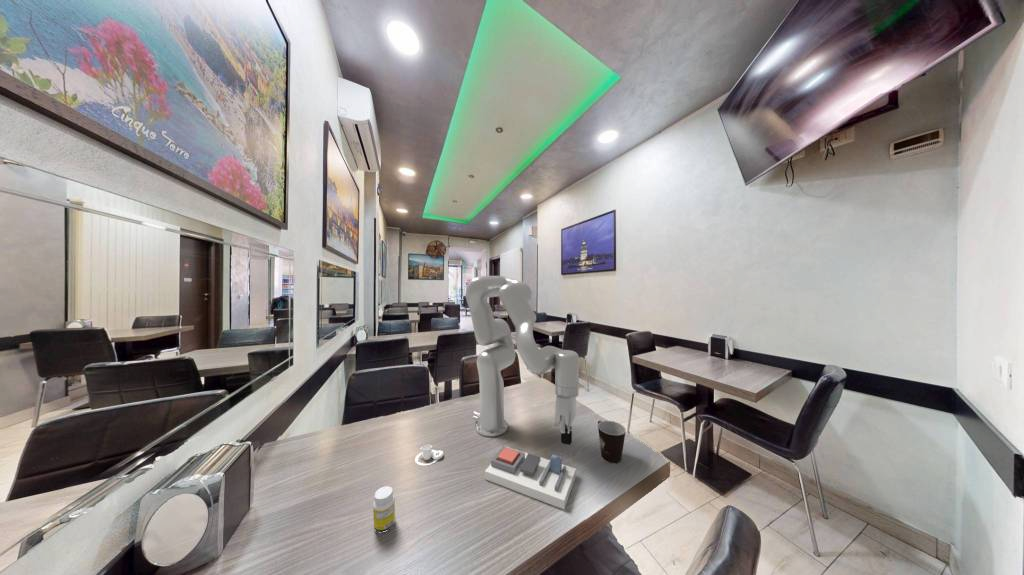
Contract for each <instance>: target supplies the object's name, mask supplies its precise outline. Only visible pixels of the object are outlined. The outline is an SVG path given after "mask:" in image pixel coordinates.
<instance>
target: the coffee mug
mask: <svg viewBox="0 0 1024 575" xmlns="http://www.w3.org/2000/svg"><path fill="white" fill-rule="evenodd" d="M597 428H598V429H597V430H598V437H599V438H598V439H599V447H600V448H599V449H600V456H601V458H602V459H603V461H605V462H607V463H610V464H619V463H621V461H622V459H623V458H622V457H623V453H624V452H623V451H624V445H625V436H626V431H627V430H626V427H624V425H622V424H621V423H619V422H617V421H614V420H599V421H597Z"/></svg>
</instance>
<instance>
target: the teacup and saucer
mask: <svg viewBox="0 0 1024 575" xmlns="http://www.w3.org/2000/svg"><path fill="white" fill-rule="evenodd" d="M421 450H422V451H421ZM418 452H419V453H418V454H416V456H415V457H414V462H415V464H417V465H418V466H419V467H420V466H421V467H426V466H431V465H433V464H435V463H437V462H438V461H439V460H440V459H442V458H443V456H444V451H443V450H436V449H433V445H432V444H424V445H423V446H422V447H419V450H418ZM421 456H422V457H423V460H424V461H429V460H431V459H433V461H430V462H428V463H422V462H420V461H419V462H418V460H419V459H418V458H420V457H421Z"/></svg>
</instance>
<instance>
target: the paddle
mask: <svg viewBox="0 0 1024 575" xmlns="http://www.w3.org/2000/svg"><path fill="white" fill-rule="evenodd" d="M549 460H550V471H551V472H554V473H557V474H560V473H561V471H562V464H563V463H562V462H563V457H562V456H559V455H557V454H552V455H551V456H550V458H549Z"/></svg>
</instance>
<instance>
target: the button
mask: <svg viewBox="0 0 1024 575" xmlns="http://www.w3.org/2000/svg"><path fill="white" fill-rule="evenodd" d="M515 450H516V449H515ZM515 450H511V449H508V448H504V449H503V451H502V452H501V453H500V454H499V455H498V457H497V460H498V461H501V462H504V463H507V464H510V465H513V464H514V463H515V461H516V460H517V459H518V457H519V452H518V451H519V450H518V451H515Z"/></svg>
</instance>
